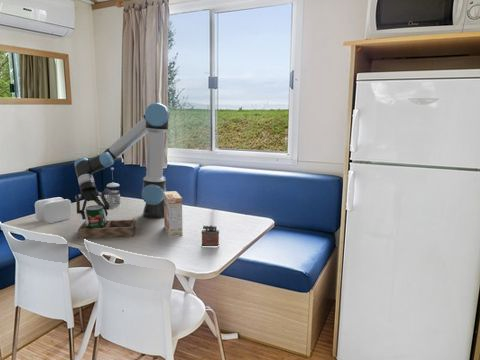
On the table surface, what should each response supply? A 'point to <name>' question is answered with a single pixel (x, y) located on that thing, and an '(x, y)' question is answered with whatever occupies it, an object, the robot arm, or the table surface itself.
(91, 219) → the canned tomato
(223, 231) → the table surface
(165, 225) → the coffeecake box
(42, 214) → the cable organizer
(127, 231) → the slot caddy
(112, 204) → the french press
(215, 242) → the lighter
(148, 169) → the robot arm
